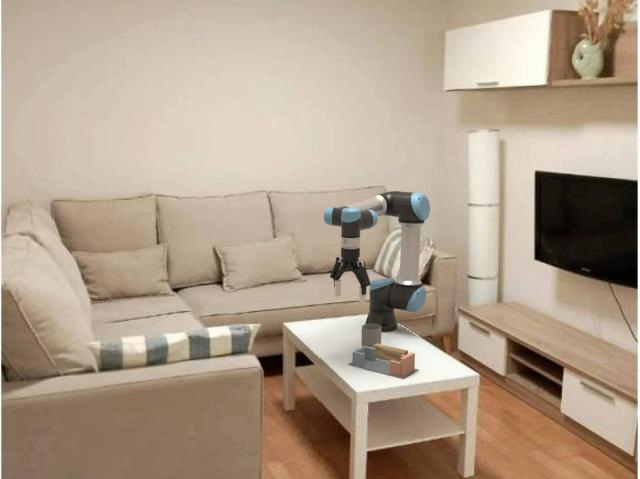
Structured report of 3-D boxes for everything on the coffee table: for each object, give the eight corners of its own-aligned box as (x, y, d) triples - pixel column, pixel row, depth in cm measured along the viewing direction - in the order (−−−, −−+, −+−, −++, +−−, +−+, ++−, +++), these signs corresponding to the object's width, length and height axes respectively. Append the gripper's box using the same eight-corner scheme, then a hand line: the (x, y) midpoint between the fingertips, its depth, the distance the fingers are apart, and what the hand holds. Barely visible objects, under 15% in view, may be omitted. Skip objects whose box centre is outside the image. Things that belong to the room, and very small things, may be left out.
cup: (379, 352, 313) (379, 330, 311) (360, 351, 315) (360, 328, 313) (381, 346, 321) (382, 324, 319) (363, 345, 323) (363, 323, 321)
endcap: (401, 366, 296) (402, 349, 295) (415, 369, 293) (415, 352, 291) (389, 373, 289) (390, 356, 287) (402, 376, 285) (403, 359, 284)
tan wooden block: (376, 354, 312) (376, 343, 311) (408, 362, 303) (408, 350, 302) (371, 357, 308) (371, 345, 307) (403, 364, 300) (403, 353, 299)
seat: (364, 356, 308) (364, 344, 307) (418, 370, 293) (419, 357, 292) (347, 364, 299) (347, 352, 298) (403, 379, 284) (403, 365, 283)
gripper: (321, 244, 300) (321, 294, 304) (367, 253, 282) (366, 307, 286) (335, 241, 305) (334, 291, 309) (380, 250, 287) (379, 303, 291)
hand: (349, 299), depth 297 cm, fingers open, 13 cm apart
